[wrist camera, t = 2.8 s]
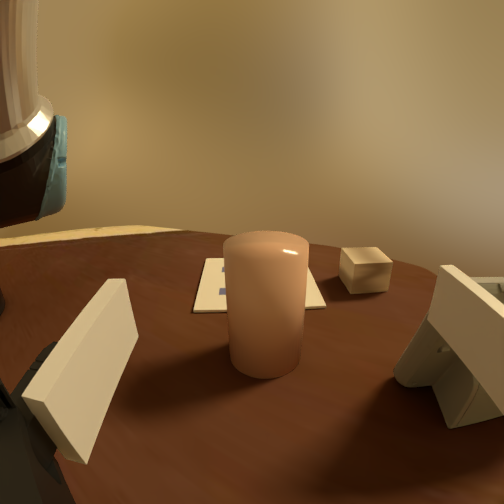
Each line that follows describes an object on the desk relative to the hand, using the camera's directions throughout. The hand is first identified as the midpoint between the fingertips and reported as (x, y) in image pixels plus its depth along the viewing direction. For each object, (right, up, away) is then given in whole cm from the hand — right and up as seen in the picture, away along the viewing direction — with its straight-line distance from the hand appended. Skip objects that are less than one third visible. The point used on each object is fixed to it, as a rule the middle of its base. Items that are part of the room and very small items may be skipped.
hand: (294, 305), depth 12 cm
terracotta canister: (0, -7, +14) cm, 15 cm away
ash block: (+12, -2, +25) cm, 28 cm away
